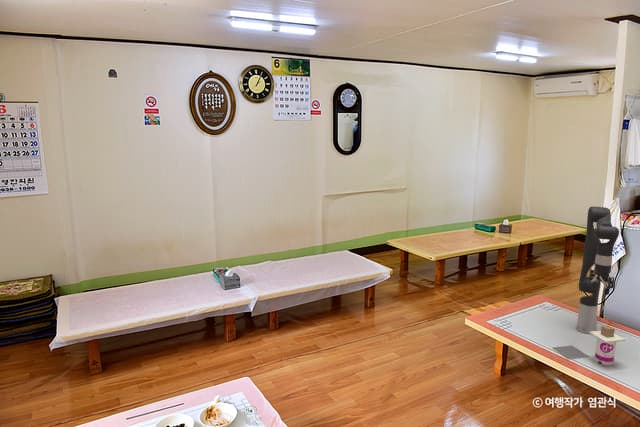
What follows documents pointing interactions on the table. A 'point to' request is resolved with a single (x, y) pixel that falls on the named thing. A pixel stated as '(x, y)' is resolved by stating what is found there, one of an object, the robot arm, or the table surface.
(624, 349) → the table surface
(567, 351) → the rubber mat
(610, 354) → the supplement can
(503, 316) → the table surface
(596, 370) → the table surface
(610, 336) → the board
